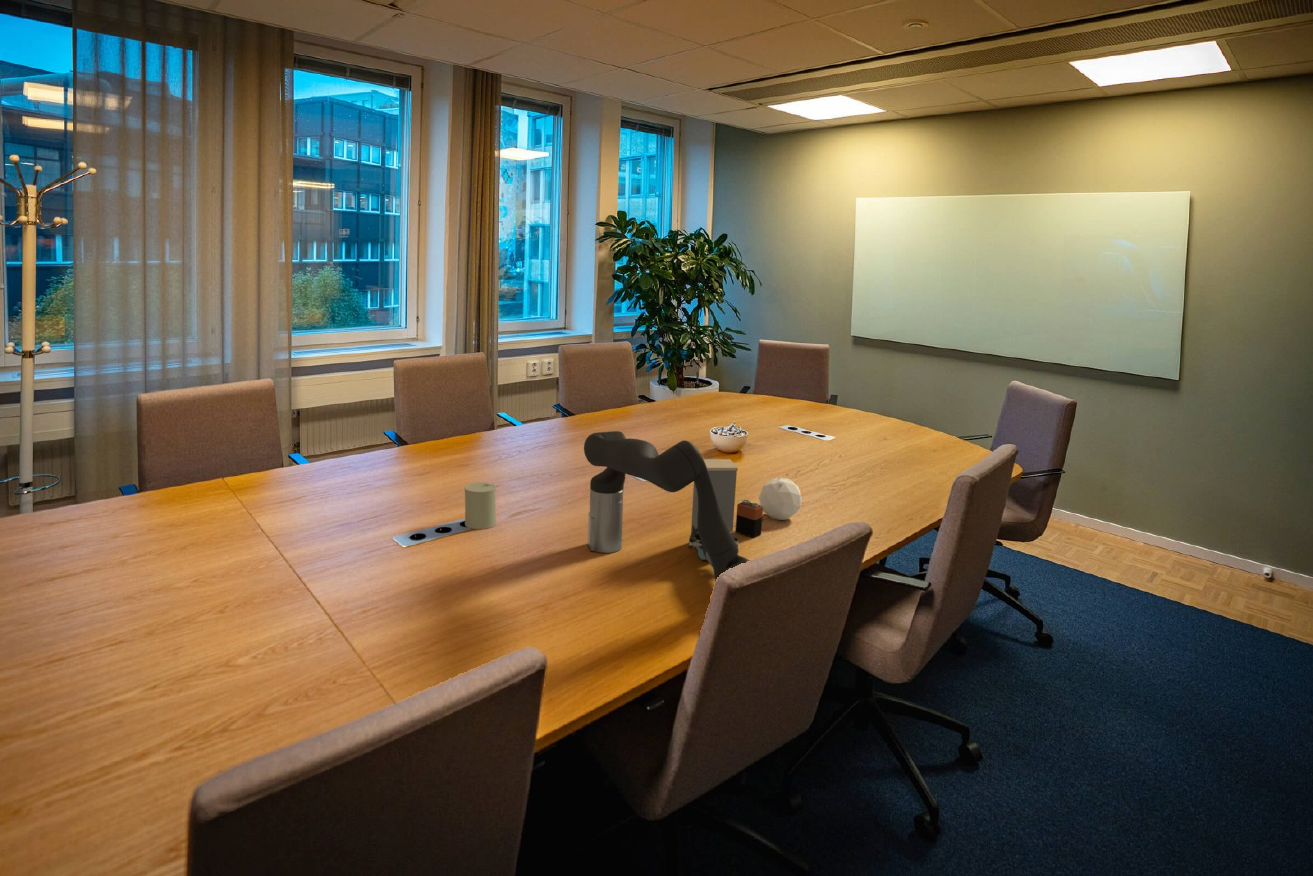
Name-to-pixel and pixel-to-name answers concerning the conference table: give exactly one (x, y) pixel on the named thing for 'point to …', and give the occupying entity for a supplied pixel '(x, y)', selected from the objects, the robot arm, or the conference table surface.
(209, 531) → the conference table surface
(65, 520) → the conference table surface
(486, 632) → the conference table surface
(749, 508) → the battery
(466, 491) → the can
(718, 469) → the cabinet
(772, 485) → the geodesic sphere
